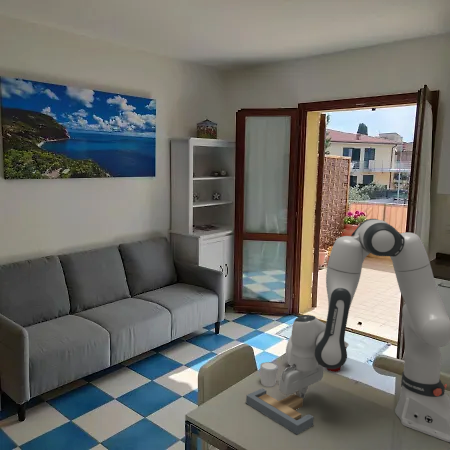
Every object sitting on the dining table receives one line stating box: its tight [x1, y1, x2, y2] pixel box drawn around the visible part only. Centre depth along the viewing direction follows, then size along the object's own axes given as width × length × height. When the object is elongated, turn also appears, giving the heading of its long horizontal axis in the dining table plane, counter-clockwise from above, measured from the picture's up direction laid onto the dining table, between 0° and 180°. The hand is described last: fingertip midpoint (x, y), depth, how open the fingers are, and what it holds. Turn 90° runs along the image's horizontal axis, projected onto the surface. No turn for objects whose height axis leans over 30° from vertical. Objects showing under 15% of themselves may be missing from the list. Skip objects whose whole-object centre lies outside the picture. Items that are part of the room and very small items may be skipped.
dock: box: [245, 388, 315, 435], centre depth 145 cm, size 23×8×3 cm, turn 41°
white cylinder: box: [259, 361, 279, 387], centre depth 165 cm, size 7×7×7 cm
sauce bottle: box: [285, 336, 292, 366], centre depth 179 cm, size 8×8×18 cm
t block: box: [258, 393, 304, 420], centre depth 147 cm, size 16×12×3 cm
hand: (300, 398), depth 152 cm, fingers closed
